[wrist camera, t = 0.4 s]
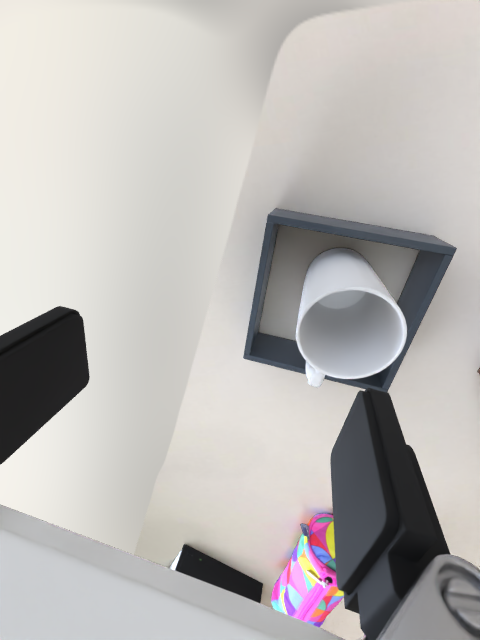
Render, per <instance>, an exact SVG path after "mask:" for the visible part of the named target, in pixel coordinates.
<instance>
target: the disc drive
mask: <svg viewBox="0 0 480 640" xmlns="http://www.w3.org/2000/svg"><path fill="white" fill-rule="evenodd" d="M169 568H170V569H172V570H175V571H178V572H180V573H183V574H185V575H188V576H191V577H193V578H196V579H199V580H201V581H204V582H206V583H209V584H212V585H214V586H217V587H219V588H222V589H225V590H227V591H230V592H232V593H235V594H238V595H240V596H243V597H245V598H248V599H250V600H253V601H255V602H258V603H260V602H261V594H262V587H263V584H262V583H260V582H258V581H256V580H254V579H252V578H250V577H249V576H247V575H245V574H243V573H241V572H239V571H237V570H235V569H233V568H231V567H229V566H227V565H225V564H223V563H221V562H219V561H217V560H215V559H213V558H211V557H209V556H207V555H205V554H203V553H201V552H199V551H197V550H195V549H193V548H191V547H189V546H187V545H185V544H184V545H183V548H182V551H181V552H180V553H179V555H178V556H177V557H176V559H175V560H174V562H173V563H172V564H171V566H170V567H169Z"/></svg>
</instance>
